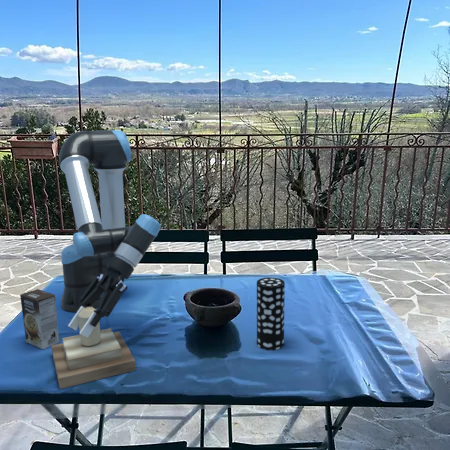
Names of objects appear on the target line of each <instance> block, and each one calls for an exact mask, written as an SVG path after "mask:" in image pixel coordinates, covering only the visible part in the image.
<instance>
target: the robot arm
mask: <svg viewBox="0 0 450 450" xmlns="http://www.w3.org/2000/svg"><path fill="white" fill-rule="evenodd" d="M131 160H132V151H131V145H130V142H129V139H128V137H127V134H126V133H125V132H124V131H122V130H115V129H104V130H103V129H102V130H101V129H100V130H79V131H75V132H73V133H72V134H70V135H69V136H68V137H67V138H66V139H65V140H64V142H63V144H62V145H61V147H60V152H59V155H58V162H59V168H60V169H61V171H62V172H63V173H64V175H65V180H66V184H67V189H68V192H69V197H70V201H71V202H70V203H71V206H72V210H73V214H74V220H75V223H76V228H77V232H75V233H73V235H72V236H73V237H72V244H70V245H68V246H65V248H63V249H62V250H61V261H60V262H61V265H62V274H63V285H64V287H63V292H62V297H61V300H60V305H61V309H62V310H64V311H66V312H72V313H73V312H74V313H75V314H74V316H73V317H72V319H71V320H70V322H69V323H68V324H67V327H69V328H70V329H73V330H74V331H77V330H78V329H79V319H78V314H79V313H80V312H81V310H82V309H83V308H87V307H93V308H94V309H96V310H94V312H95V313H94V312H93V313H92V314H91V316H90V318H89V319H88V321H87V322H86V324H85V325H84V327H83V328H82V330H81V331H80V330H79V335H80V334H82V335H83V336H85V337H87V338H88V337H89V335H90V334H91V332H92V331H93V329H94V327H96V326H97V324H98V322H99V323H100V321H101V320H102V318H104V317H106V318H109V317H110V315H111V313H112V312H113V310H114V309H115V307H116V306H117V304H118V303H119V301H120V299H121V297H122V296H123V294H124V293H125V292H126V291H127V290H128V286H127V285H126V284H125V283H124V281H125V280H129V279H130V277H131V275H132V274H133V272H134V271H135V268H136V267H137V266H138V265H139V263H140V261H141V260H142V258H143V257H144V255H145V254H146V252H147V251H148V249H149V248H150V247H151V245H152V244H153V242H154V240H155V238H156V237H158V234H159V232H160V230H161V228H162V225H161V223H159V221H158V220H157V219H155V217H152V216H151V215H148V214H146V213H145V214H144V213H141V214H140V215H139V217H138V218H137V219H135V222H134V223H133V224H132V225H130V226H126V218H125V217H126V215H125V200H124V197H125V196H124V180H123V177H124V176H123V172H124V171H125V170H126V169H127V163H130V161H131ZM90 165H93V170H95V171H96V172H97V174H98V188H99V190H98V191H99V202H100V203H99V204H100V212H99V208H98V207H99V206H98V203H97V200H96V196H95V192H94V188H93V185H92V180H91V175H90V172H89V167H90Z"/></svg>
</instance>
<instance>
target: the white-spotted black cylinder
mask: <svg viewBox="0 0 450 450" xmlns="http://www.w3.org/2000/svg"><path fill="white" fill-rule="evenodd" d="M285 285H286V283H285V281H284V280H283V279H281V278H278V277H272V276H271V277H262V278H258V279H257V281H256V345H257V347H259V348H260V349H262V350H266V351H276V350H280V349H282V348H283V347H284V344H285V297H286V296H285V293H286V291H285V288H286V286H285Z"/></svg>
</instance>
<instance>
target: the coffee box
mask: <svg viewBox="0 0 450 450" xmlns="http://www.w3.org/2000/svg"><path fill="white" fill-rule="evenodd" d="M19 297H20V304H21V311H22V320H23V327H24V335H25V337H24V338H25V342H26V343H27V344H29V345H32V346H34V347H37V348H38V349H41V350H44V349H47V348H49V347H52V345H56V344H59V343H60V336H59V335H60V334H59V325H58V315H57V304H56V295H55V294H54V293H50V292H47V291H45V290H41V289H39V288H36V289H34V290H30V291H28V292H25V293H21V294H19Z"/></svg>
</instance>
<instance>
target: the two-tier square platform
mask: <svg viewBox="0 0 450 450" xmlns="http://www.w3.org/2000/svg"><path fill="white" fill-rule="evenodd" d="M100 335H101V341H100V342H99V343H98V344H95V345H91V346H85V345H82V344H81V340H80V334H76V335H72V336H71V335H70V336H67V337H62V343H61V342H60V343H56V344H54V345H52V346H51V355H52V359H53V364H54V368H55V372H56V379H57V382H58V387H59V390H62V389H65V388H69V387H74V386H78V385H82V384H87V383H89V382H94V381H97V380H102V379H106V378H110V377H113V376H118V375H121V374H126V373H130V372H135V371H136V370H137V369H136V368H137V367H136V366H137V365H136V359H135V357H134V356H133V354H132V351H131V350H130V348H129V347H128V345H127V343H126V341H125V340H124V338H123V336H122V334H121V332H120V331H115V332H113V330H112V328H106V329H105V328H104V329H100Z"/></svg>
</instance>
